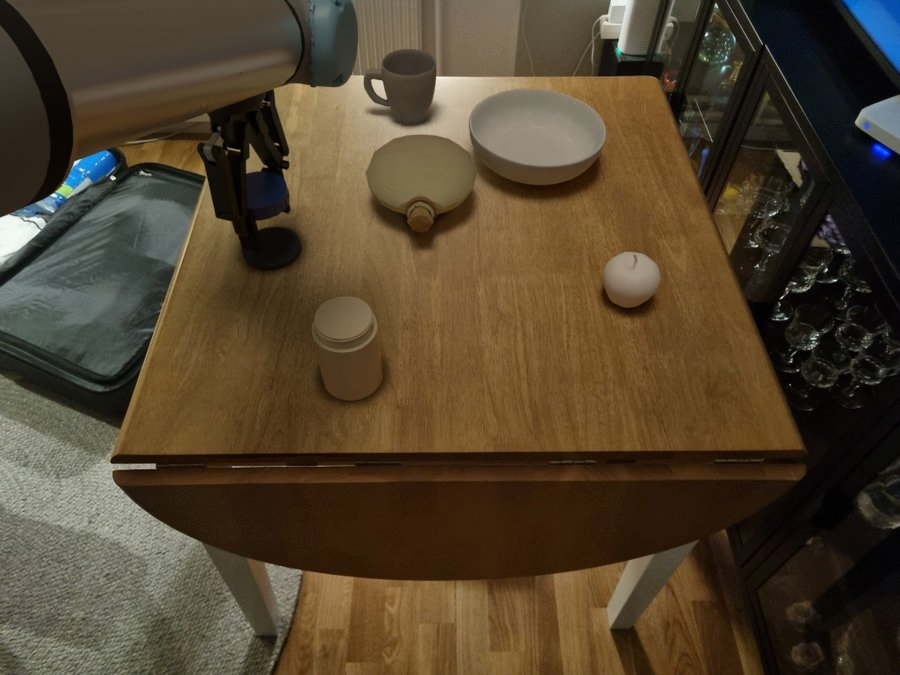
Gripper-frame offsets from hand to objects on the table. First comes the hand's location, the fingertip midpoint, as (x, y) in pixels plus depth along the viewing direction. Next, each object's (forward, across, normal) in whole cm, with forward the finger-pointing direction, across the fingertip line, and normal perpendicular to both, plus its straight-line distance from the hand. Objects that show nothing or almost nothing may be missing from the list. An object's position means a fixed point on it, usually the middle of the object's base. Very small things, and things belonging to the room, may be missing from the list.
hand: (267, 228), depth 87 cm
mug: (+4, -37, +6) cm, 38 cm away
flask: (+4, -14, +17) cm, 23 cm away
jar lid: (-6, 0, 0) cm, 6 cm away
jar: (+4, +17, +19) cm, 25 cm away
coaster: (+4, 0, 0) cm, 4 cm away
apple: (+4, -6, +48) cm, 48 cm away
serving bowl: (+4, -31, +30) cm, 43 cm away
